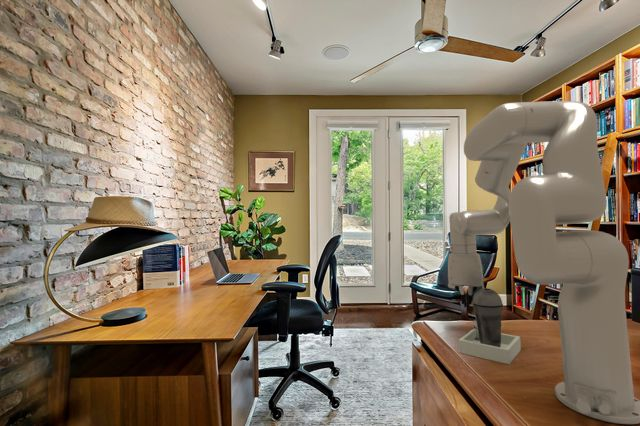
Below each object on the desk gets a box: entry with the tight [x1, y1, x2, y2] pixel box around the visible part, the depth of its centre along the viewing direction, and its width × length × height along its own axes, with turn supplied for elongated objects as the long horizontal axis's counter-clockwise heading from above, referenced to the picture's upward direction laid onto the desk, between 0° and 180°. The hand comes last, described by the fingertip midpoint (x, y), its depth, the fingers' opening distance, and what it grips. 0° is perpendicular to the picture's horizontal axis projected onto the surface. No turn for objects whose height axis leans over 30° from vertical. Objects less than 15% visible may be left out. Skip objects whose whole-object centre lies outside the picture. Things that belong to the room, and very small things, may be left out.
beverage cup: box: [471, 272, 504, 347], centre depth 82 cm, size 7×7×20 cm
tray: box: [458, 328, 522, 365], centre depth 82 cm, size 12×12×3 cm
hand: (466, 306), depth 101 cm, fingers closed
